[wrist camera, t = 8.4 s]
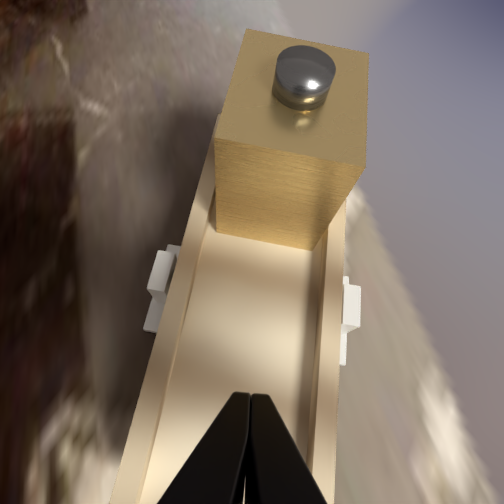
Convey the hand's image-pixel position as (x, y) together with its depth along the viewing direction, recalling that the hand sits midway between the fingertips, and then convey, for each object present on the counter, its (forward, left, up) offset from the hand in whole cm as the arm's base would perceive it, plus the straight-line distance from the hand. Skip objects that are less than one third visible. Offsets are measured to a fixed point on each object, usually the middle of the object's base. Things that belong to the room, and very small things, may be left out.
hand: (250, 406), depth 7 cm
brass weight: (+12, -3, -10) cm, 16 cm away
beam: (+6, -2, -11) cm, 12 cm away
